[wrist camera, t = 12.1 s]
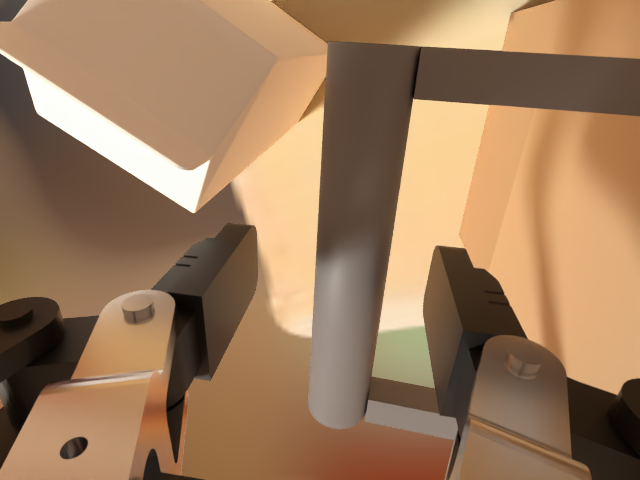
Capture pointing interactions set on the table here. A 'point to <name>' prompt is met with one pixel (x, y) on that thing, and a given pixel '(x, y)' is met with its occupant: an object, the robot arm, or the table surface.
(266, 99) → the milk
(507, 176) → the carton
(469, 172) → the table surface
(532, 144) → the carton flap
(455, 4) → the table surface
